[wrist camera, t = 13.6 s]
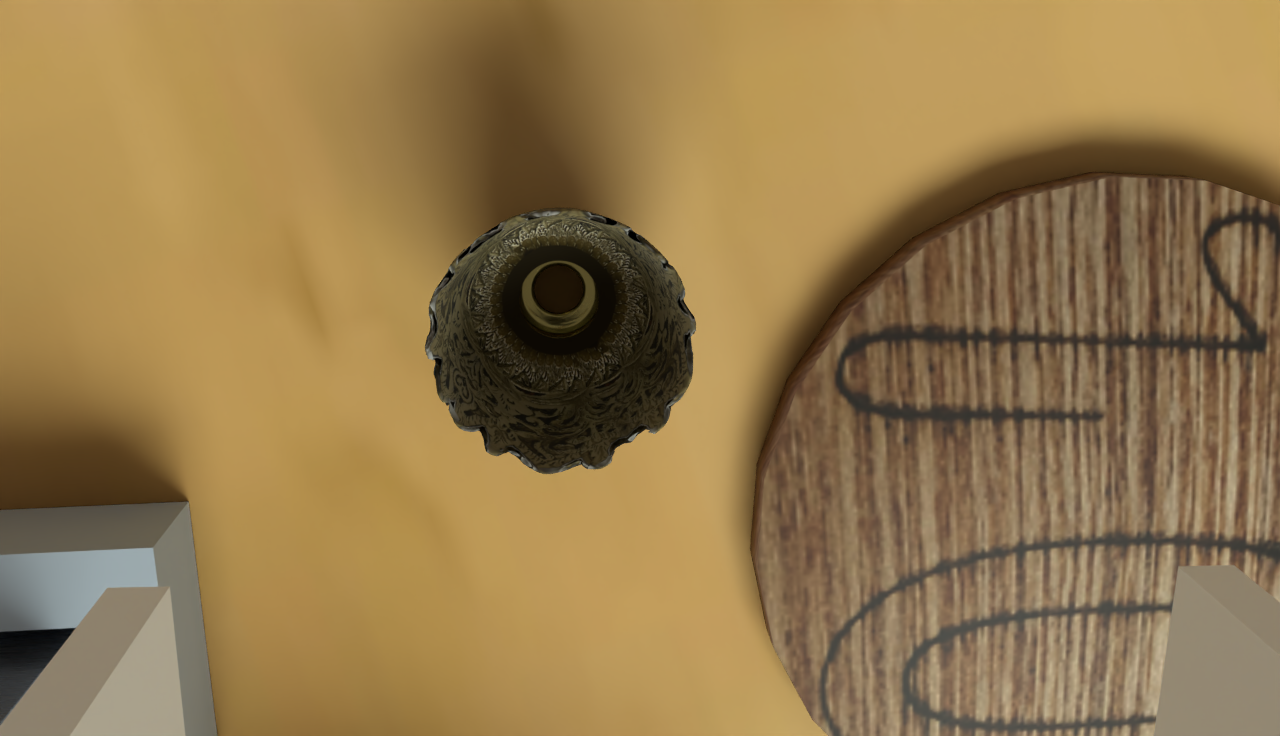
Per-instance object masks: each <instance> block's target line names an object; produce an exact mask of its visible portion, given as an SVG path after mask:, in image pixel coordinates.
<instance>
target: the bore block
mask: <svg viewBox="0 0 1280 736" xmlns="http://www.w3.org/2000/svg"><path fill="white" fill-rule="evenodd" d="M168 586H170V592H171V602H172V612H173V621H174V631H175V641H176V650H177V660H178V669H179V679H180V689H181V698H182V708H183V718H184V727H185V736H217V728H216V720H215V712H214V704H213V696H212V688H211V680H210V671H209V663H208V655H207V647H206V639H205V631H204V623H203V614H202V606H201V598H200V590H199V582H198V574H197V566H196V557H195V549H194V541H193V533H192V525H191V517H190V509H189V502H167V503H145V504H122V505H100V506H78V507H56V508H34V509H12V510H0V632H5V631H24V630H44V629H63V628H76V627H77V626H78V625H79V624H80V622H81V621H82V620H83V618H84V617H85V616H86V615H87V613H88V612H89V611H90V609H91V608H92V607H93V606H94V604H95V603H96V602H97V600H98V599H99V598H100V597H101V595H102V594H103V593H104V591H105V590H106V589H107V588H118V587H168Z"/></svg>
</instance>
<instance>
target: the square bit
mask: <svg viewBox="0 0 1280 736" xmlns="http://www.w3.org/2000/svg"><path fill="white" fill-rule="evenodd" d="M75 629H76V628H63V629H44V630H24V631H5V632H0V725H1V724H2V723H3V721H4V720H5V719H6V718H7V716H8V715H9V714H10V712H11V711H12V710H13V709H14V707H15V706H16V705H17V703H18V702H19V701H20V699H21V698H22V697H23V696H24V694H25V693H26V692H27V690H28V689H29V688H30V687H31V685H32V684H33V683H34V681H35V680H36V679H37V678H38V676H39V675H40V674H41V672H42V671H43V670H44V669H45V667H46V666H47V665H48V663H49V662H50V661H51V660H52V658H53V657H54V656H55V654H56V653H57V652H58V651H59V649H60V648H61V647H62V645H63V644H64V643H65V642H66V640H67V639H68V638H69V636H70V635H71V634H72V633H73V631H74V630H75Z"/></svg>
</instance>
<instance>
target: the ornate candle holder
mask: <svg viewBox="0 0 1280 736" xmlns="http://www.w3.org/2000/svg"><path fill="white" fill-rule="evenodd" d="M553 266H563V267H567V268H569V269H571V270H573V271H574V272H575V273H576V274H577V275H578V276H579V278H580V280H581V282H582V286H583V294H582V298H581V300H580V302H579V303H578V305H577V306H576V307H575V308H574V309H572V310H571V311H569V312H566V313H561V314H556V313H551V312H549V311H547V310H545V309H544V308H542V307H541V306H540V305H539V303H538V302H537V300H536V297H535V293H534V286H535V282H536V280H537V278H538V276H539V275H540V274H541V273H542V272H543V271H544V270H546V269H548V268H550V267H553ZM684 296H685V289H684V286H683V284H682V281H681V279H680V277H679V275H678V273H677V272H676V270H675V269H674V268H673V266H671V265H669V264H668V261H667V260H666V258H665V257H664V256H663V255H662V254H661V253H660V252H659V251H658V250H657V249H656V248H655V247H654V246H653V245H651V244H650V243H649V242H648V241H647V240H646V239H645V238H643V237H642V236H641V235H638V234H636V233H635V232H633V231H632V230H631V228H630V227H628V226H626V225H624V224H622V223H620V222H618V221H615V220H613V219H610V218H607V217H604V216H602V215H599V214H596V213H592V212H589V211H585V210H579V209H573V208H546V209H540V210H534V211H530V212H527V213H524V214H520V215H517V216H514V217H511V218H509V219H507V220H505V221H503V222H501V223H500V224H499V225H497V226H496V227H494V228H492V229H491V230H489V231H488V232H486V233H485V234H483V235H482V236H480V237H479V238H478V239H476V241H475V242H474V243H473V244H472V245H471V246H469V247H468V248H467V249H464V250H463V251H462V252H461V253H460V254H459V255H458V256H457V257H456V259H455V260H454V261H453V262H452V264H451V265H450V267H449V269H448V272H447V274H446V275H445V277H444V278H443V279H442V281H441V282H440V284H439V285H438V286H437V288H436V290H435V291H434V294H433V296H432V298H431V301H430V305H429V316H430V322H431V326H430V332H429V335H428V336H427V340H426V344H425V351H426V355H427V356H428V359H432V360H435V362H436V364H435V367H434V376H435V379H436V387H437V393H438V396H439V398H440V399H441V401H442V402H445V403H446V405H447V406H448V405H449V412H450V414H451V416H452V418H453V420H454V423H455V424H456V425H457V426H458V427H459V428H460V429H462V430H464V431H469V432H475V431H480V432H481V434H482V436H483V439H484V445H485V449H486V452H488V453H489V454H491V455H494V456H499V455H502V454H503V453H507V452H510V453H511V454H513V455H515V456H516V457H518V458H519V459H520V460H521V462H522V463H523V464H525V465H526V466H528V467H529V468H531V469H533V470H535V471H537V472H539V473H542V474H553V473H558V472H562V471H565V470H568V469H570V468H572V467H575V466H578V465H581V464H582V466H583V467H585V468H587V469H601V468H603V467H605V466H607V465H608V464H610V463H611V461H612V456H613V454H614V452H615V451H614V450H615V448H617V447H618V446H620V445H622V444H624V443H630V442H632V441H633V440H634V438H635V437H636V436H637V435H638V434H640V433H641V432H642V431H644V430H645V429H647V430H650V431H649V432H650V433H653V434H655V433H657V432H658V431H659V430H660V429H661V428H663V427H664V425H665V424H666V423H667V421H668V419H669V416H670V410H671V406H672V405H673V404H674V403H676V402H677V401H679V400H680V399H681V397H682V396H683V395H684V393H685V392H686V390H687V388H688V386H689V384H690V382H691V379H692V373H693V352H692V346H691V336H692V334H694V332H695V331H696V322H695V318H694V316H693V314H692V313H691V312H690V311H689V309H688V308H687V306H686V304H685V303H684V300H683V298H684ZM611 455H612V456H611Z"/></svg>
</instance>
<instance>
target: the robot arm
mask: <svg viewBox="0 0 1280 736" xmlns="http://www.w3.org/2000/svg"><path fill="white" fill-rule="evenodd" d="M0 736H185V727H184V718H183V708H182V698H181V689H180V679H179V669H178V660H177V650H176V641H175V631H174V621H173V612H172V602H171V592H170V586H168V587H118V588H107V589H106V590H105V591H104V593H103V594H102V595H101V597H100V598H99V599H98V600H97V602H96V603H95V604H94V606H93V607H92V608H91V609H90V611H89V612H88V613H87V615H86V616H85V617H84V618H83V620H82V621H81V622H80V624H79V625H78V626H77V627H76V629H75V630H74V631H73V633H72V634H71V635H70V636H69V638H68V639H67V640H66V642H65V643H64V644H63V645H62V647H61V648H60V649H59V651H58V652H57V653H56V654H55V656H54V657H53V658H52V660H51V661H50V662H49V663H48V665H47V666H46V667H45V669H44V670H43V671H42V672H41V674H40V675H39V676H38V678H37V679H36V680H35V681H34V683H33V684H32V685H31V687H30V688H29V689H28V690H27V692H26V693H25V694H24V696H23V697H22V698H21V699H20V701H19V702H18V703H17V705H16V706H15V707H14V709H13V710H12V711H11V712H10V714H9V715H8V716H7V718H6V719H5V720H4V721H3V723H2V724H1V725H0ZM1154 736H1280V602H1279V601H1277V600H1276V599H1275V598H1274V597H1273V596H1271V595H1270V594H1269V593H1268V592H1266V591H1265V590H1264V589H1263V588H1261V587H1260V586H1259V585H1258V584H1256V583H1255V582H1254V581H1253V580H1251V579H1250V578H1249V577H1248V576H1246V575H1245V574H1244V573H1243V572H1242V571H1240V570H1239V569H1238V568H1237V567H1235V566H1234V565H1221V566H1178V572H1177V579H1176V586H1175V593H1174V600H1173V607H1172V614H1171V621H1170V628H1169V635H1168V641H1167V648H1166V655H1165V662H1164V669H1163V676H1162V683H1161V690H1160V697H1159V703H1158V710H1157V717H1156V724H1155V731H1154Z"/></svg>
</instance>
